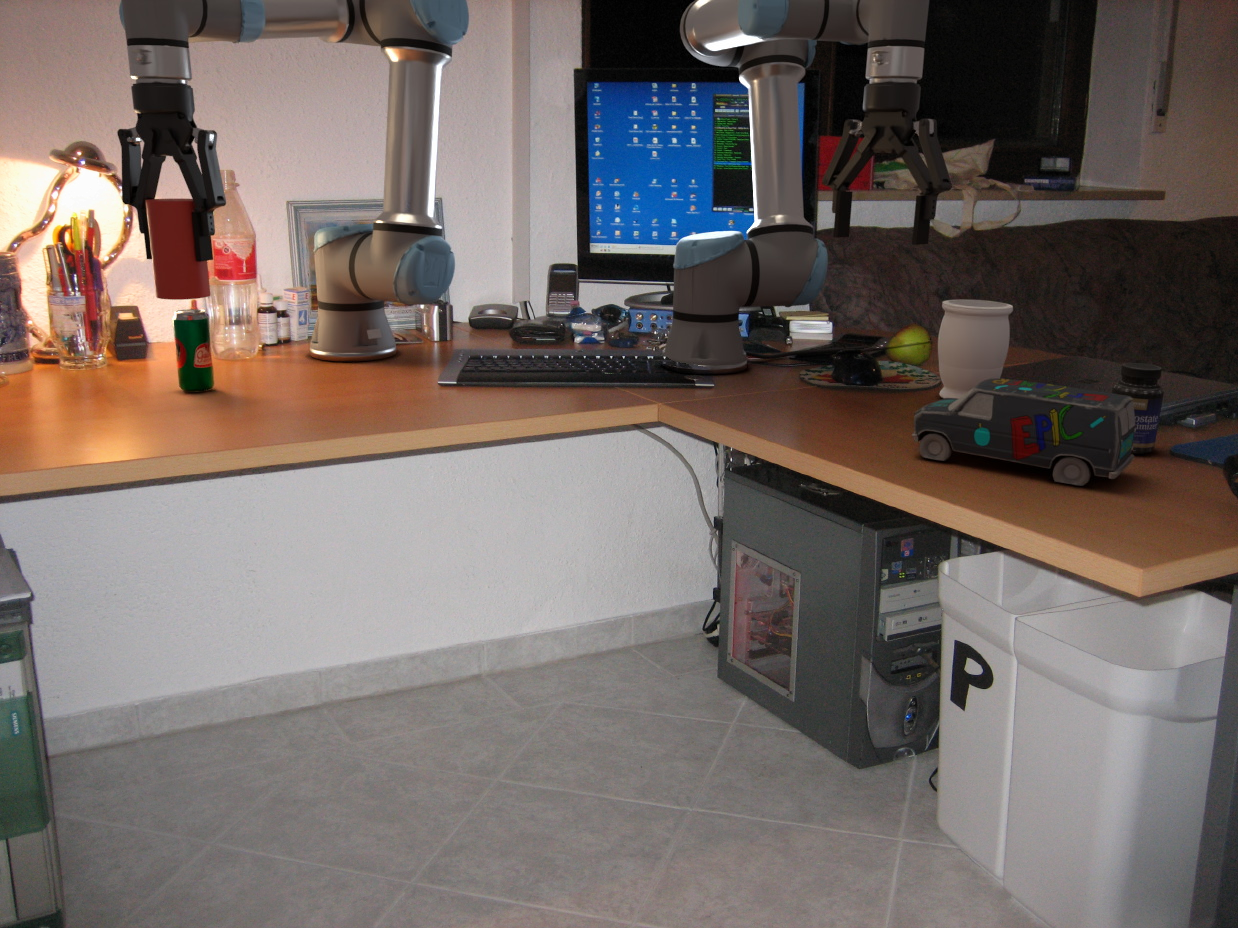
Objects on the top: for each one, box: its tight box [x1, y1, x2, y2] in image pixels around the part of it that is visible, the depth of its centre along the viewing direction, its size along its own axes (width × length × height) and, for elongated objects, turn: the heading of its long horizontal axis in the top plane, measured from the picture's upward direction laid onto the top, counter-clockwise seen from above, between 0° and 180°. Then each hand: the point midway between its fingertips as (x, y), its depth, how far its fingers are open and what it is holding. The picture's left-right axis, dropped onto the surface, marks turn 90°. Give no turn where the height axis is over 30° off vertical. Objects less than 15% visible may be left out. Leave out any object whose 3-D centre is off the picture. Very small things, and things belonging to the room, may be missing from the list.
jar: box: [937, 298, 1014, 399], centre depth 166 cm, size 11×10×15 cm
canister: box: [145, 198, 211, 301], centre depth 146 cm, size 7×7×13 cm
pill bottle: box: [1111, 362, 1165, 455], centre depth 139 cm, size 6×6×11 cm
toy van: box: [911, 377, 1136, 487], centre depth 131 cm, size 11×25×10 cm, turn 54°
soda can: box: [172, 308, 215, 393], centre depth 162 cm, size 5×5×12 cm
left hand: (180, 259), depth 147 cm, fingers closed on canister, 7 cm apart
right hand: (879, 241), depth 152 cm, fingers open, 13 cm apart
